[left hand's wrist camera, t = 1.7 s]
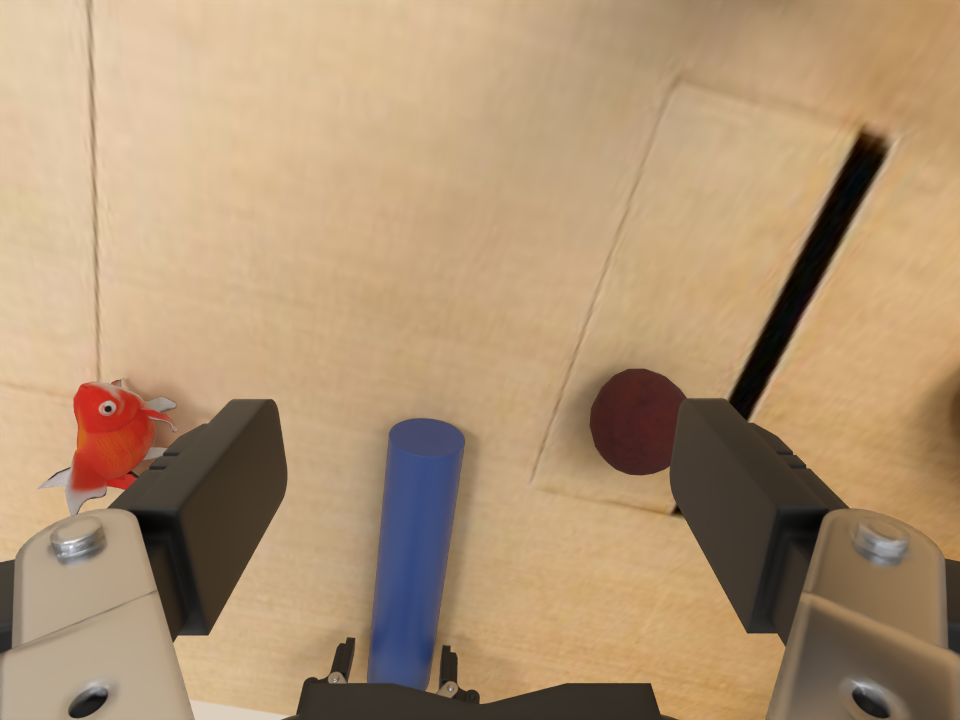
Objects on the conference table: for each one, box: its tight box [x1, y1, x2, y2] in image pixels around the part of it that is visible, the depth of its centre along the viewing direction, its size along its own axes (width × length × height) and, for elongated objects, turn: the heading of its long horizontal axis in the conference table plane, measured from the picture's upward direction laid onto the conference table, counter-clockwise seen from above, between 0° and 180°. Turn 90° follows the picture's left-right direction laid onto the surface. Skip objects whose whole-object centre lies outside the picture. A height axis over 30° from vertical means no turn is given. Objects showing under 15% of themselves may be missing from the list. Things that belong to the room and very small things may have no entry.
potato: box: [590, 369, 686, 475], centre depth 40 cm, size 7×8×7 cm
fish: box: [37, 379, 178, 516], centre depth 41 cm, size 11×16×10 cm
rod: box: [367, 419, 465, 691], centre depth 46 cm, size 25×6×6 cm, turn 172°
